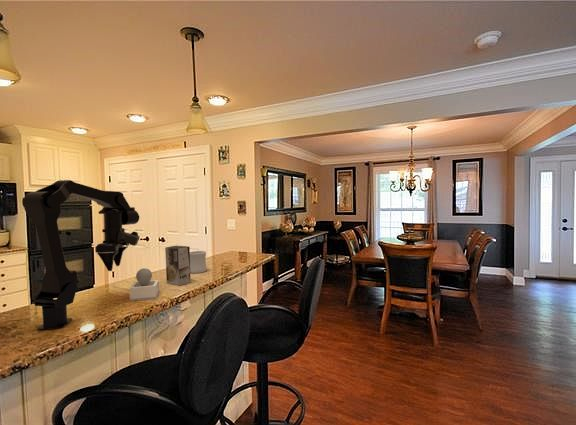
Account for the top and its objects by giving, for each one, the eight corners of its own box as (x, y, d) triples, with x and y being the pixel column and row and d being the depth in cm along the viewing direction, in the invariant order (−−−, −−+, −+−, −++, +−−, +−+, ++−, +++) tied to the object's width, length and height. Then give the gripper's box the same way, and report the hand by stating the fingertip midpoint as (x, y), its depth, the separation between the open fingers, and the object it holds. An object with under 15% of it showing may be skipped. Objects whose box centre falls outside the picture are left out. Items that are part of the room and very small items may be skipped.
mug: (202, 268, 160) (201, 250, 160) (209, 271, 153) (209, 252, 153) (179, 272, 152) (178, 253, 152) (185, 275, 145) (185, 255, 145)
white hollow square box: (156, 298, 112) (155, 285, 112) (130, 301, 110) (129, 288, 109) (159, 291, 120) (158, 279, 120) (135, 293, 118) (134, 281, 118)
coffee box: (191, 282, 134) (190, 246, 133) (179, 286, 128) (178, 248, 128) (178, 279, 139) (177, 244, 138) (165, 283, 133) (164, 246, 132)
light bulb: (146, 296, 111) (145, 270, 111) (133, 296, 112) (132, 269, 112) (155, 292, 117) (154, 267, 116) (143, 292, 118) (142, 266, 118)
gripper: (130, 227, 103) (131, 272, 103) (142, 224, 121) (143, 262, 121) (94, 228, 100) (95, 274, 101) (111, 224, 118) (112, 264, 119)
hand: (114, 268), depth 110 cm, fingers open, 9 cm apart
